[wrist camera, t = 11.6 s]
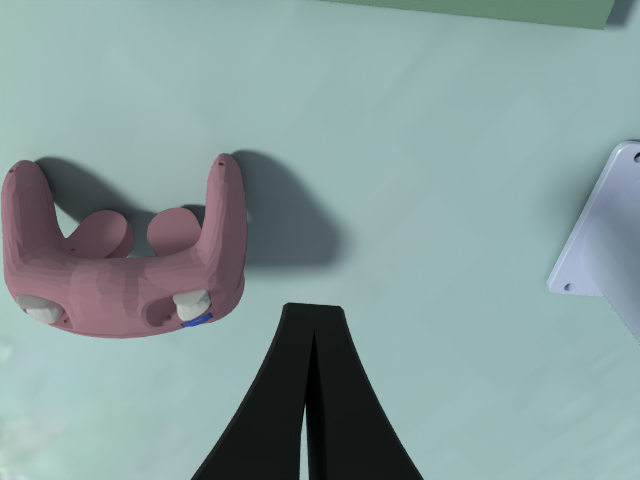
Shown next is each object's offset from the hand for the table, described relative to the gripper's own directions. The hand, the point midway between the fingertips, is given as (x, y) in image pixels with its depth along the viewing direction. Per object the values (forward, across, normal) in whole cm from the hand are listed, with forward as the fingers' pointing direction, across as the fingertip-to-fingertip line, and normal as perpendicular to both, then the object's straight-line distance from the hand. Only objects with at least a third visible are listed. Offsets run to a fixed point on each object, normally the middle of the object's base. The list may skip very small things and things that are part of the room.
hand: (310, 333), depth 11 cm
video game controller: (+10, +8, +3) cm, 13 cm away
